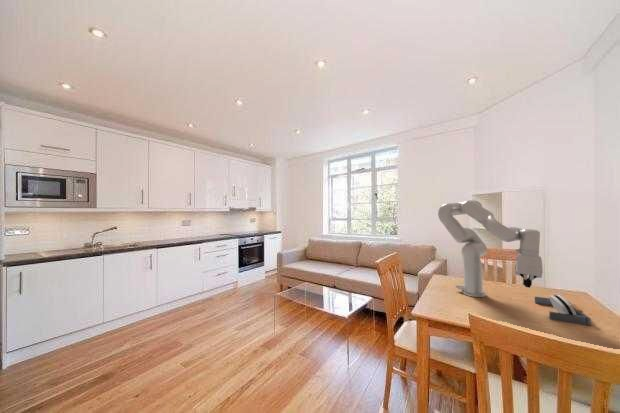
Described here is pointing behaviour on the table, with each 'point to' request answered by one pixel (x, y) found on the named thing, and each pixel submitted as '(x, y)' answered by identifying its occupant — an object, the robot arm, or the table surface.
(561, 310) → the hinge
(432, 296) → the table surface
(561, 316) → the bay
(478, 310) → the table surface
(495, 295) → the table surface
